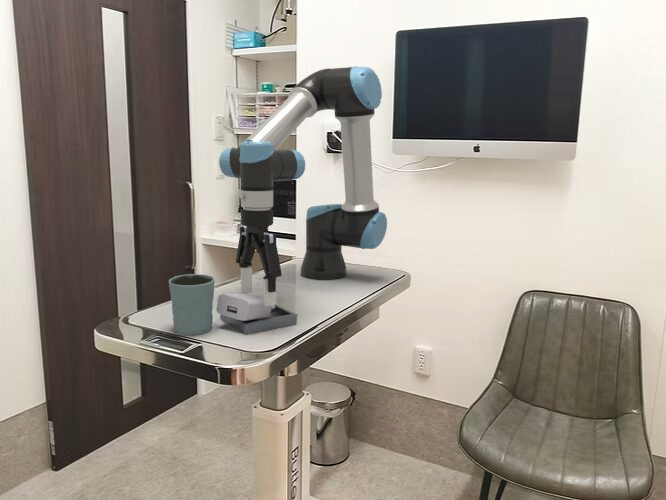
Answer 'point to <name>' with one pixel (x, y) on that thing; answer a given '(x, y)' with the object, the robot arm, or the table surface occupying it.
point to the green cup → (192, 303)
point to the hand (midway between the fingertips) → (257, 298)
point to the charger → (243, 307)
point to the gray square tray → (263, 321)
